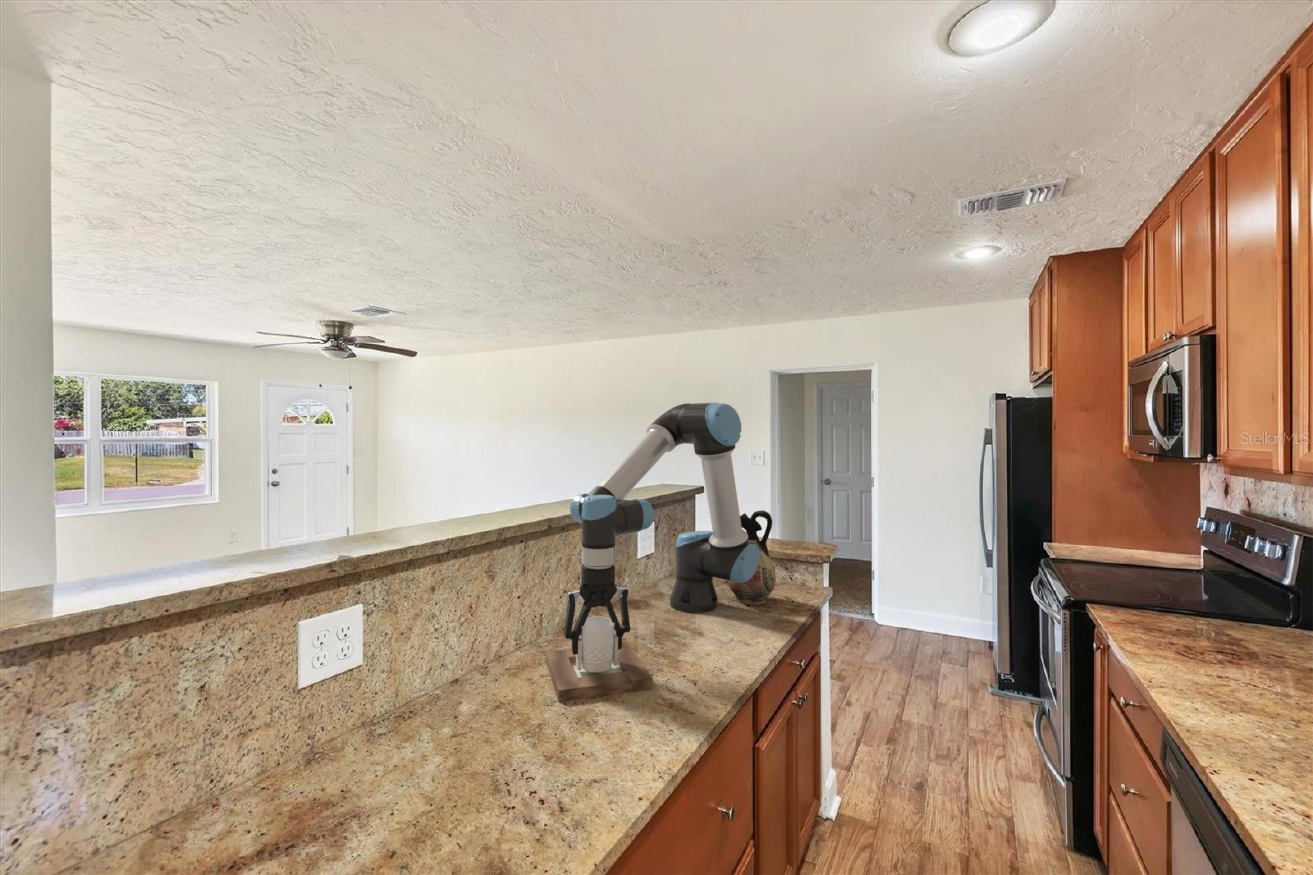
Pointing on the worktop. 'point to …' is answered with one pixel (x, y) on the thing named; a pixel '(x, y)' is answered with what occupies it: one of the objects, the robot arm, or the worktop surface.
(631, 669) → the wooden picture frame
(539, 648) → the worktop surface
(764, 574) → the ceramic jug
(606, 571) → the robot arm
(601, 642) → the white cup
